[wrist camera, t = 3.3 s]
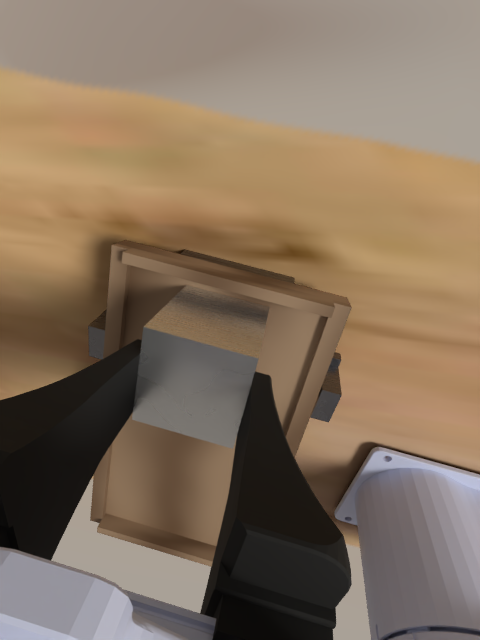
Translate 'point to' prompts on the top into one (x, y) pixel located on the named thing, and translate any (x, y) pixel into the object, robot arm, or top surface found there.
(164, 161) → the top surface
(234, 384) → the block
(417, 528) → the robot arm
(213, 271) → the balance beam
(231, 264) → the beam stand
